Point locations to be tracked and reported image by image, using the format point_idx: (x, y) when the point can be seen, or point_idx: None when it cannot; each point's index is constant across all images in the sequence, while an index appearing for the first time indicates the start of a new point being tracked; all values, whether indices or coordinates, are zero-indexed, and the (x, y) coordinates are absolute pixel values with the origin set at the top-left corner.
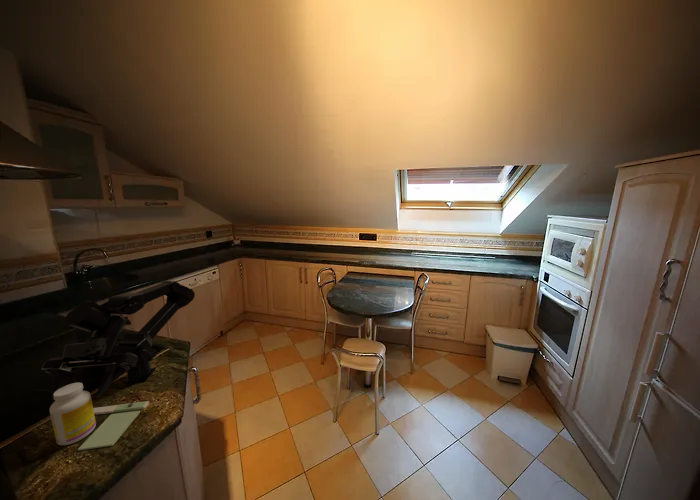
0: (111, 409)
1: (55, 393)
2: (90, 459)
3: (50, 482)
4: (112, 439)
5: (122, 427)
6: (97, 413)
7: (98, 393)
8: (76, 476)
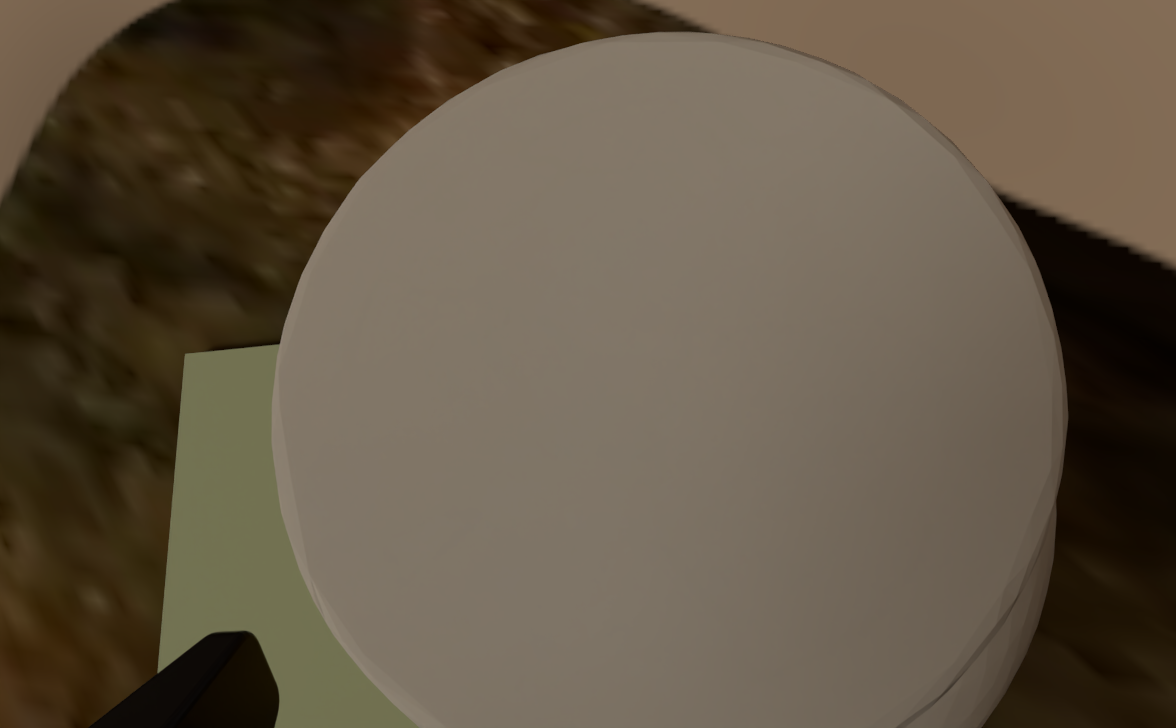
0: None
1: (893, 156)
2: (306, 232)
3: (478, 56)
4: (220, 412)
5: (206, 571)
6: None
7: (178, 667)
8: (307, 95)
